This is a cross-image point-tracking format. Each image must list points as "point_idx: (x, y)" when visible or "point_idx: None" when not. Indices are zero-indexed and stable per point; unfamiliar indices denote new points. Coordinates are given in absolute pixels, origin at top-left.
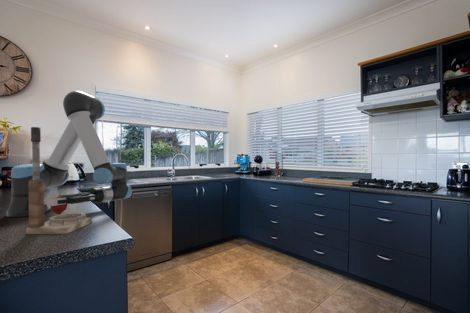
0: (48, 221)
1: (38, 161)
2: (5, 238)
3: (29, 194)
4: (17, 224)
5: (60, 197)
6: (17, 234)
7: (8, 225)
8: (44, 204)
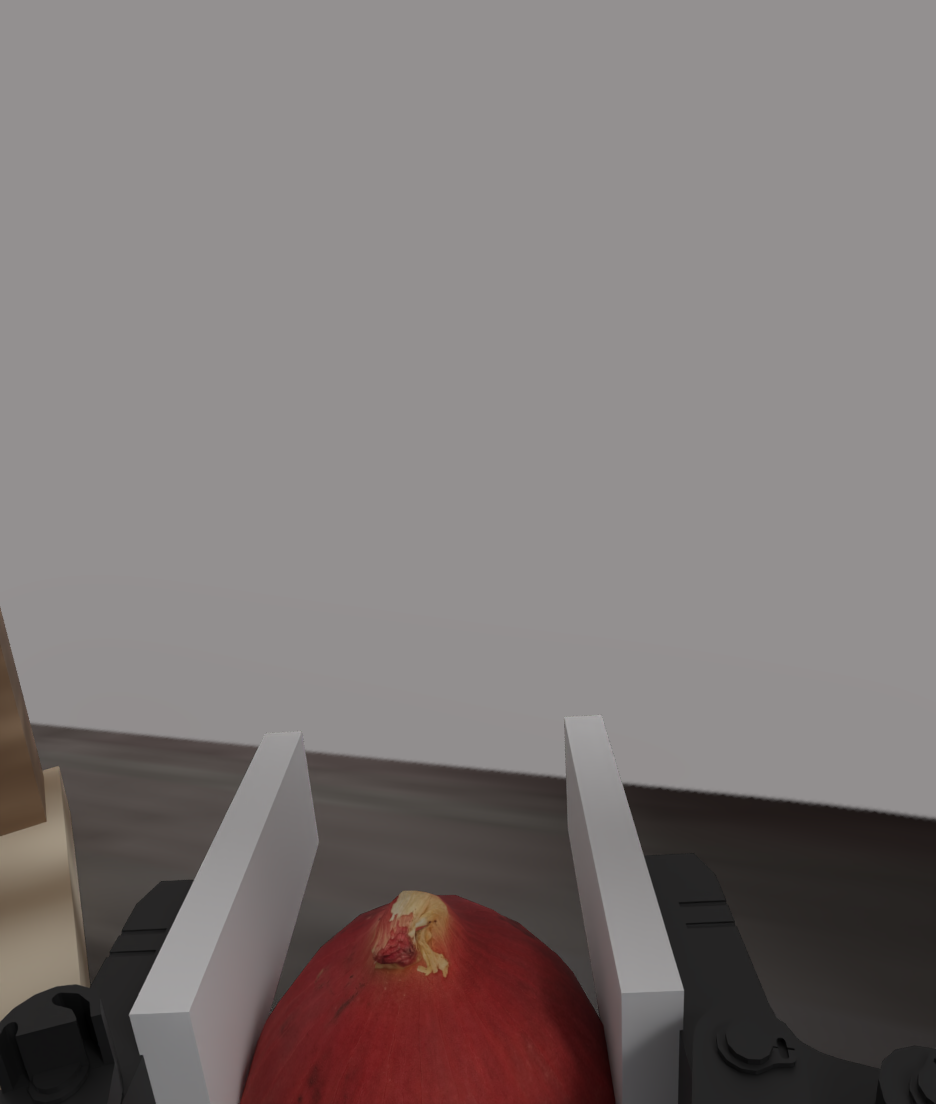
0: (39, 924)
1: None
2: (136, 737)
3: None
4: None
5: (384, 952)
6: (146, 783)
7: None
8: (573, 858)
